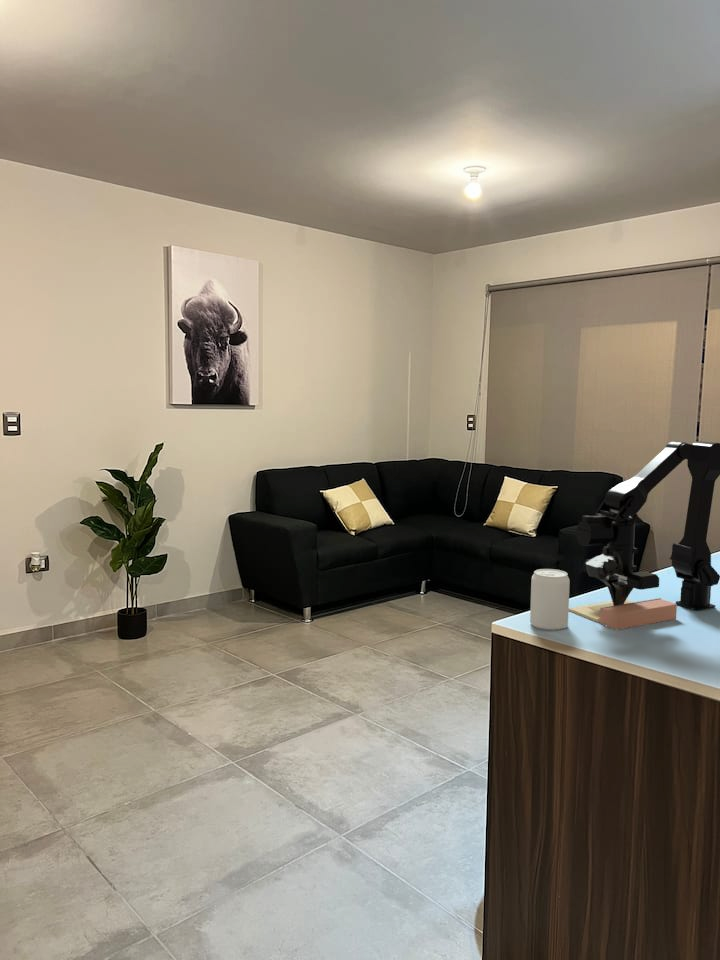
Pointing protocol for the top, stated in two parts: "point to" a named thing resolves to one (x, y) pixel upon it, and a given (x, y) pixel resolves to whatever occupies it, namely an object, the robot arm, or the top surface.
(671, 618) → the pink long block
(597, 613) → the tan rectangular slab
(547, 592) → the beverage can
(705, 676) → the top surface
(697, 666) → the top surface
